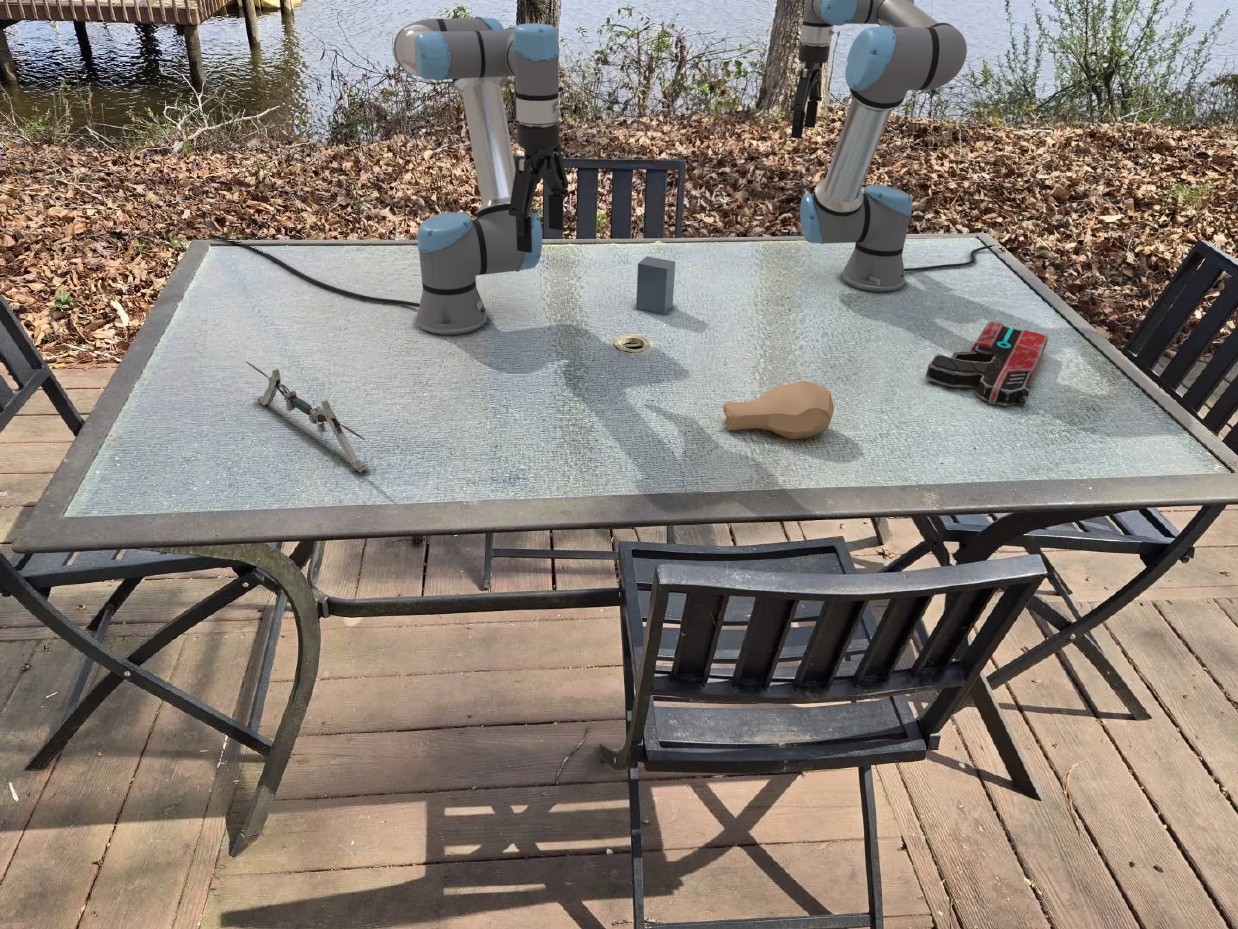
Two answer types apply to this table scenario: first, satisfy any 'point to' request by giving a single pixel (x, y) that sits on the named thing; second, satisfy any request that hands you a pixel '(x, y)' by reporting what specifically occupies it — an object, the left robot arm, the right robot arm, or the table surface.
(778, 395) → the squash
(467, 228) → the left robot arm
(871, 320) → the table surface
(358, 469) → the bow
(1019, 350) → the gun
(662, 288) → the brick
